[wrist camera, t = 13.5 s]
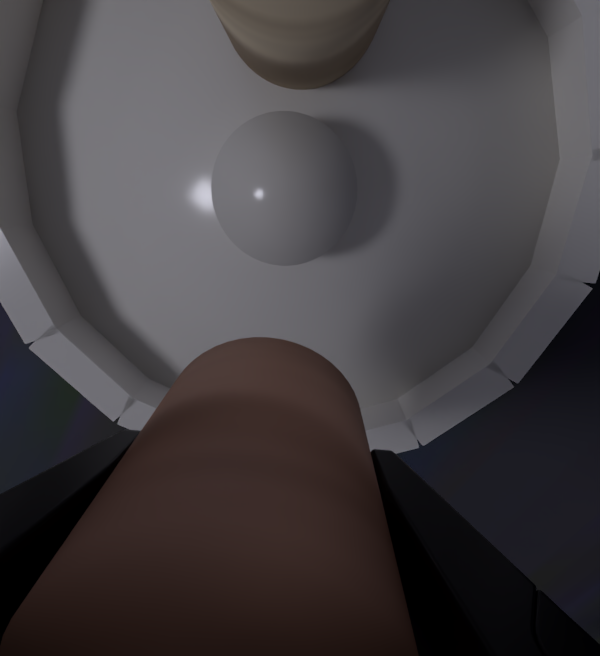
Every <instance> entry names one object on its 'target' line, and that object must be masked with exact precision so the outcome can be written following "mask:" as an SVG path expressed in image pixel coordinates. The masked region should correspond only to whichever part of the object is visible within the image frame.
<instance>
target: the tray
mask: <svg viewBox="0 0 600 656" xmlns="http://www.w3.org/2000/svg"><path fill="white" fill-rule="evenodd" d="M599 271H600V0H390V2H389V4H388V6H387V9H386V11H385V13H384V15H383V18H382V20H381V22H380V25H379V27H378V29H377V31H376V34H375V36H374V38H373V40H372V42H371V44H370V46H369V47H368V49H367V51H366V52H365V54H364V55H363V56H362V58H361V59H360V60H359V61H358V63H357V64H356V65H355V66H354V67H353V68H352V69H351V70H350V71H348V72H347V73H346V74H345V75H343V76H342V77H340V78H339V79H337V80H336V81H334V82H332V83H329V84H327V85H325V86H321V87H318V88H314V89H307V90H294V89H288V88H284V87H280V86H277V85H275V84H272V83H270V82H268V81H266V80H265V79H263V78H262V77H260V76H259V75H257V74H256V73H255V72H254V71H253V70H251V69H250V68H249V67H248V66H247V65H246V63H245V62H244V61H243V60H242V59H241V58H240V56H239V55H238V53H237V52H236V50H235V49H234V47H233V45H232V43H231V41H230V39H229V37H228V35H227V33H226V31H225V29H224V28H223V26H222V24H221V22H220V20H219V18H218V16H217V14H216V12H215V10H214V8H213V6H212V4H211V2H210V0H0V302H1V304H2V306H3V307H4V309H5V311H6V312H7V314H8V316H9V317H10V319H11V321H12V323H13V324H14V326H15V328H16V329H17V331H18V333H19V334H20V336H21V338H22V339H23V341H24V343H25V344H26V343H30V342H33V341H35V342H34V343H33V344H32V345H31V346H30V347H29V349H30V350H31V351H33V352H34V353H35V354H36V355H37V356H38V357H39V358H41V359H42V360H43V361H44V362H45V363H46V364H47V365H49V366H50V367H51V368H52V369H53V370H54V371H56V372H57V373H58V374H59V375H60V376H61V377H62V378H64V379H65V380H66V381H67V382H68V383H69V384H70V385H72V386H73V387H74V388H75V389H76V390H77V391H78V392H80V393H81V394H82V395H83V396H84V397H85V398H87V399H88V400H89V401H90V402H91V403H92V404H93V405H95V406H96V407H97V408H98V409H99V410H100V411H101V412H103V413H104V414H105V415H106V416H107V417H108V418H110V419H111V420H112V421H114V420H116V419H117V418H118V417H119V416H120V415H121V416H120V418H119V421H118V423H117V424H118V425H120V426H123V427H125V428H128V429H130V430H139V431H141V430H142V429H143V427H144V426H145V424H146V423H147V421H148V420H149V418H150V417H151V416H152V414H153V413H154V411H155V410H156V408H157V407H158V405H159V404H160V403H161V401H162V400H163V398H164V397H165V395H166V394H167V392H168V391H169V389H170V388H171V387H172V385H173V384H174V382H175V381H176V379H177V378H178V377H179V375H180V374H181V373H182V371H183V370H184V369H185V368H186V367H187V366H188V365H189V364H190V363H191V362H192V361H193V360H194V359H195V358H197V357H198V356H200V355H201V354H202V353H204V352H206V351H207V350H209V349H211V348H213V347H215V346H217V345H220V344H223V343H225V342H228V341H233V340H237V339H242V338H251V337H270V338H277V339H283V340H287V341H291V342H294V343H297V344H300V345H302V346H305V347H307V348H309V349H311V350H313V351H315V352H317V353H318V354H320V355H322V356H323V357H324V358H326V359H327V360H328V361H330V362H331V363H332V364H333V365H334V366H335V367H336V368H337V369H338V370H339V371H340V372H341V373H342V374H343V375H344V377H345V378H346V379H347V380H348V382H349V384H350V385H351V387H352V389H353V391H354V392H355V395H356V397H357V400H358V402H359V406H360V410H361V415H362V419H363V423H364V427H365V431H366V436H367V440H368V444H369V448H370V452H371V451H372V450H373V449H381V450H391V451H393V452H394V453H395V454H396V453H400V452H404V451H408V450H412V449H416V448H419V446H418V442H417V439H418V441H419V442H420V443H421V444H422V445H423V446H424V445H426V444H427V443H429V442H430V441H432V440H433V439H435V438H436V437H438V436H439V435H441V434H443V433H444V432H446V431H447V430H449V429H450V428H452V427H453V426H455V425H456V424H458V423H460V422H461V421H463V420H464V419H466V418H467V417H469V416H470V415H472V414H473V413H475V412H476V411H478V410H480V409H481V408H483V407H484V406H486V405H487V404H489V403H490V402H492V401H493V400H495V399H497V398H498V397H500V396H501V395H503V394H504V393H506V392H507V391H509V390H510V389H512V388H514V386H513V385H512V383H511V382H510V381H509V379H510V380H512V381H514V382H516V383H519V382H520V380H521V379H522V378H523V377H524V375H525V374H526V373H527V372H528V370H529V369H530V368H531V366H532V365H533V364H534V363H535V361H536V360H537V359H538V358H539V356H540V355H541V354H542V352H543V351H544V350H545V349H546V347H547V346H548V345H549V344H550V342H551V341H552V340H553V338H554V337H555V336H556V335H557V333H558V332H559V331H560V329H561V328H562V327H563V326H564V324H565V323H566V322H567V321H568V319H569V318H570V317H571V315H572V314H573V313H574V312H575V310H576V309H577V308H578V307H579V305H580V304H581V303H582V301H583V300H584V299H585V298H586V296H587V295H588V294H589V293H590V291H591V290H592V289H593V288H591V287H589V286H587V285H586V284H584V283H582V282H585V283H596V280H597V277H598V274H599ZM416 438H417V439H416Z"/></svg>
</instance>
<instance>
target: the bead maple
mask: <svg viewBox="0 0 600 656" xmlns="http://www.w3.org/2000/svg"><path fill="white" fill-rule="evenodd" d="M210 2H211V4H212V6H213V8H214V10H215V12H216V14H217V16H218V18H219V20H220V22H221V24H222V26H223V28H224V29H225V31H226V33H227V35H228V37H229V39H230V41H231V43H232V45H233V47H234V49H235V50H236V52H237V53H238V55H239V56H240V58H241V59H242V60H243V61H244V62H245V63H246V65H247V66H248V67H249V68H250V69H251V70H253V71H254V72H255V73H256V74H257V75H259V76H260V77H262V78H263V79H265V80H266V81H268V82H270V83H272V84H275V85H277V86H280V87H284V88H288V89H294V90H307V89H314V88H318V87H321V86H325V85H327V84H329V83H332V82H334V81H336V80H337V79H339V78H340V77H342V76H343V75H345V74H346V73H347V72H348V71H350V70H351V69H352V68H353V67H354V66H355V65H356V64H357V63H358V61H359V60H360V59H361V58H362V56H363V55H364V54H365V52H366V51H367V49H368V47H369V46H370V44H371V42H372V40H373V38H374V36H375V34H376V31H377V29H378V27H379V25H380V22H381V20H382V18H383V15H384V13H385V11H386V9H387V6H388V4H389V2H390V0H210Z"/></svg>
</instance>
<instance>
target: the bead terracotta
mask: <svg viewBox="0 0 600 656" xmlns="http://www.w3.org/2000/svg"><path fill="white" fill-rule="evenodd" d="M0 656H419V654H418V650H417V646H416V642H415V637H414V633H413V629H412V625H411V621H410V616H409V612H408V608H407V604H406V600H405V595H404V591H403V587H402V583H401V579H400V574H399V570H398V566H397V562H396V557H395V553H394V549H393V545H392V541H391V536H390V532H389V528H388V524H387V520H386V515H385V511H384V507H383V503H382V499H381V494H380V490H379V486H378V482H377V478H376V473H375V469H374V465H373V461H372V457H371V452H370V448H369V444H368V440H367V436H366V431H365V427H364V423H363V419H362V415H361V410H360V406H359V402H358V400H357V397H356V395H355V392H354V391H353V389H352V387H351V385H350V384H349V382H348V380H347V379H346V378H345V377H344V375H343V374H342V373H341V372H340V371H339V370H338V369H337V368H336V367H335V366H334V365H333V364H332V363H331V362H330V361H328V360H327V359H326V358H324V357H323V356H322V355H320V354H318V353H317V352H315V351H313V350H311V349H309V348H307V347H305V346H302V345H300V344H297V343H294V342H291V341H287V340H283V339H277V338H270V337H251V338H242V339H237V340H233V341H228V342H225V343H223V344H220V345H217V346H215V347H213V348H211V349H209V350H207V351H206V352H204V353H202V354H201V355H200V356H198V357H197V358H195V359H194V360H193V361H192V362H191V363H190V364H189V365H188V366H187V367H186V368H185V369H184V370H183V371H182V373H181V374H180V375H179V377H178V378H177V379H176V381H175V382H174V384H173V385H172V387H171V388H170V389H169V391H168V392H167V394H166V395H165V397H164V398H163V400H162V401H161V403H160V404H159V405H158V407H157V408H156V410H155V411H154V413H153V414H152V416H151V417H150V418H149V420H148V421H147V423H146V424H145V426H144V427H143V429H142V430H141V431H140V433H139V434H138V436H137V437H136V439H135V440H134V442H133V443H132V444H131V446H130V447H129V449H128V450H127V452H126V453H125V455H124V456H123V457H122V459H121V460H120V462H119V463H118V465H117V466H116V468H115V469H114V471H113V472H112V473H111V475H110V476H109V478H108V479H107V481H106V482H105V484H104V485H103V486H102V488H101V489H100V491H99V492H98V494H97V495H96V497H95V498H94V499H93V501H92V502H91V504H90V505H89V507H88V508H87V510H86V511H85V512H84V514H83V515H82V517H81V518H80V520H79V521H78V523H77V524H76V525H75V527H74V528H73V530H72V531H71V533H70V534H69V536H68V537H67V539H66V540H65V541H64V543H63V544H62V546H61V547H60V549H59V550H58V552H57V553H56V554H55V556H54V557H53V559H52V560H51V562H50V563H49V565H48V566H47V567H46V569H45V570H44V572H43V573H42V575H41V576H40V578H39V579H38V580H37V582H36V583H35V585H34V586H33V588H32V589H31V591H30V592H29V594H28V595H27V596H26V598H25V599H24V601H23V602H22V604H21V605H20V607H19V608H18V609H17V611H16V612H15V614H14V615H13V617H12V618H11V620H10V622H9V624H8V626H7V628H6V630H5V632H4V634H3V637H2V641H1V645H0Z"/></svg>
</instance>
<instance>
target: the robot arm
mask: <svg viewBox="0 0 600 656" xmlns="http://www.w3.org/2000/svg"><path fill="white" fill-rule="evenodd" d="M139 433H140V431H139V430H127V429H126V430H122V431H120V432H118V433H116V434H114V435H112V436H110V437H109V438H107V439H105V440H103V441H101V442H99V443H97V444H95V445H93V446H91V447H90V448H88V449H86V450H84V451H82V452H80V453H78V454H76V455H74V456H72V457H70V458H69V459H67V460H65V461H63V462H61V463H59V464H57V465H55V466H53V467H51V468H50V469H48V470H46V471H44V472H42V473H40V474H38V475H36V476H34V477H32V478H30V479H29V480H27V481H25V482H23V483H21V484H19V485H17V486H15V487H13V488H11V489H9V490H8V491H6V492H4V493H2V494H0V645H1V641H2V637H3V634H4V632H5V630H6V628H7V626H8V624H9V622H10V620H11V618H12V617H13V615H14V614H15V612H16V611H17V609H18V608H19V607H20V605H21V604H22V602H23V601H24V599H25V598H26V596H27V595H28V594H29V592H30V591H31V589H32V588H33V586H34V585H35V583H36V582H37V580H38V579H39V578H40V576H41V575H42V573H43V572H44V570H45V569H46V567H47V566H48V565H49V563H50V562H51V560H52V559H53V557H54V556H55V554H56V553H57V552H58V550H59V549H60V547H61V546H62V544H63V543H64V541H65V540H66V539H67V537H68V536H69V534H70V533H71V531H72V530H73V528H74V527H75V525H76V524H77V523H78V521H79V520H80V518H81V517H82V515H83V514H84V512H85V511H86V510H87V508H88V507H89V505H90V504H91V502H92V501H93V499H94V498H95V497H96V495H97V494H98V492H99V491H100V489H101V488H102V486H103V485H104V484H105V482H106V481H107V479H108V478H109V476H110V475H111V473H112V472H113V471H114V469H115V468H116V466H117V465H118V463H119V462H120V460H121V459H122V457H123V456H124V455H125V453H126V452H127V450H128V449H129V447H130V446H131V444H132V443H133V442H134V440H135V439H136V437H137V436H138V434H139ZM371 457H372V461H373V465H374V469H375V473H376V478H377V482H378V486H379V490H380V494H381V499H382V503H383V507H384V511H385V515H386V520H387V524H388V528H389V532H390V536H391V541H392V545H393V549H394V553H395V557H396V562H397V566H398V570H399V574H400V579H401V583H402V587H403V591H404V595H405V600H406V604H407V608H408V612H409V616H410V621H411V625H412V629H413V633H414V637H415V642H416V646H417V650H418V654H419V656H600V644H599V643H598V642H596V641H595V640H594V639H593V638H592V637H591V636H590V635H589V634H588V633H587V632H585V631H584V630H583V629H582V628H581V627H580V626H579V625H578V624H577V623H576V622H574V621H573V620H572V619H571V618H570V617H569V616H568V615H567V614H566V613H565V612H564V611H562V610H561V609H560V608H559V607H558V606H557V605H556V604H555V603H554V602H553V601H552V600H551V599H550V598H549V597H548V596H546V595H545V594H544V593H543V592H542V591H541V590H537V591H536V589H537V588H536V586H535V584H533V583H532V582H531V581H530V580H529V579H528V578H527V577H526V576H525V575H524V574H523V573H522V572H521V571H520V570H519V569H518V568H516V567H515V566H514V565H513V564H512V563H511V562H510V561H509V560H508V559H507V558H506V557H505V556H504V555H503V554H502V553H501V552H499V551H498V550H497V549H496V548H495V547H494V546H493V545H492V544H491V543H490V542H489V541H488V540H487V539H486V538H485V537H484V536H482V535H481V534H480V533H479V532H478V531H477V530H476V529H475V528H474V527H473V526H472V525H471V524H470V523H469V522H468V521H467V520H465V519H464V518H463V517H462V516H461V515H460V514H459V513H458V512H457V511H456V510H455V509H454V508H453V507H452V506H451V505H450V504H448V503H447V502H446V501H445V500H444V499H443V498H442V497H441V496H440V495H439V494H438V493H437V492H436V491H435V490H434V489H433V488H431V487H430V486H429V485H428V484H427V483H426V482H425V481H424V480H423V479H422V478H421V477H420V476H419V475H418V474H417V473H416V472H414V471H413V470H412V469H411V468H410V467H409V466H408V465H407V464H406V463H405V462H404V461H403V460H402V459H401V458H400V457H398V456H397V455H396V454H395V453H394V452H393V451H391V450H381V449H373V450H372V451H371Z"/></svg>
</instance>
